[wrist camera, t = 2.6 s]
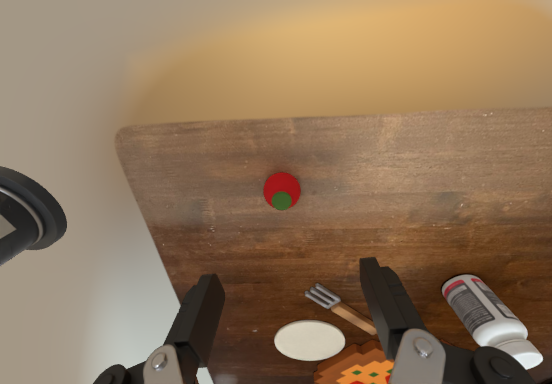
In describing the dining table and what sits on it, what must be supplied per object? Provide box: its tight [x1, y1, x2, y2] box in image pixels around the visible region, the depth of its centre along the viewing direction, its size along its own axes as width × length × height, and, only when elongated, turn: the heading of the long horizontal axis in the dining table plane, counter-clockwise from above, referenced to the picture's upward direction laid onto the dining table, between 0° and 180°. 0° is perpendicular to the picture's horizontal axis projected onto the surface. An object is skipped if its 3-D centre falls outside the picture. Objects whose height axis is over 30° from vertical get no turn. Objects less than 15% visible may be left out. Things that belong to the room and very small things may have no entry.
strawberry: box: [264, 172, 300, 210], centre depth 24 cm, size 4×4×4 cm
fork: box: [305, 283, 377, 335], centre depth 35 cm, size 15×3×1 cm, turn 51°
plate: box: [274, 320, 345, 361], centre depth 41 cm, size 13×13×1 cm
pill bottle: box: [442, 275, 543, 369], centre depth 28 cm, size 5×5×10 cm
